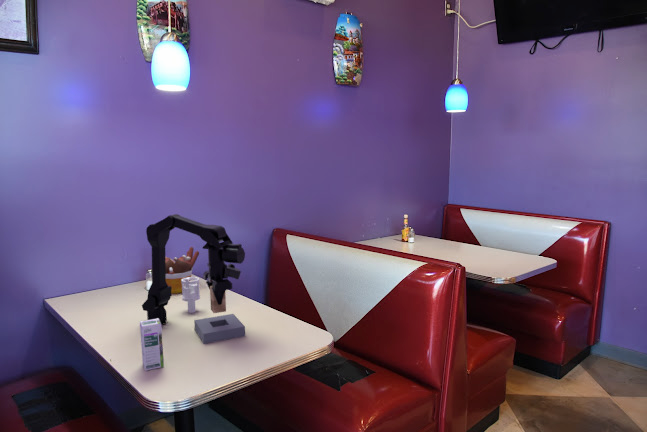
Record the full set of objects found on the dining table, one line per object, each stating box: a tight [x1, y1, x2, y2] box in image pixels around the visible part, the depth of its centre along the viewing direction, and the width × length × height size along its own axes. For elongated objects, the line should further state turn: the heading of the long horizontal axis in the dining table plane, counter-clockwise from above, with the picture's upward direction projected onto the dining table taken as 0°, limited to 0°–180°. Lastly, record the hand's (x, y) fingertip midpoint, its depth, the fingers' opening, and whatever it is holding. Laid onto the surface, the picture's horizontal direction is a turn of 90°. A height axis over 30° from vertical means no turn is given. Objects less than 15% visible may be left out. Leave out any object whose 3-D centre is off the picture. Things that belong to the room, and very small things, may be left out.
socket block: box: [194, 313, 246, 344], centre depth 177 cm, size 15×15×4 cm
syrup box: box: [139, 318, 165, 372], centre depth 150 cm, size 6×6×14 cm
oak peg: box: [209, 286, 227, 314], centre depth 175 cm, size 4×4×9 cm
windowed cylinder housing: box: [181, 276, 201, 314], centre depth 199 cm, size 7×7×15 cm
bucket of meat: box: [165, 246, 200, 295], centre depth 228 cm, size 20×16×20 cm
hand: (218, 302), depth 176 cm, fingers closed on oak peg, 4 cm apart
